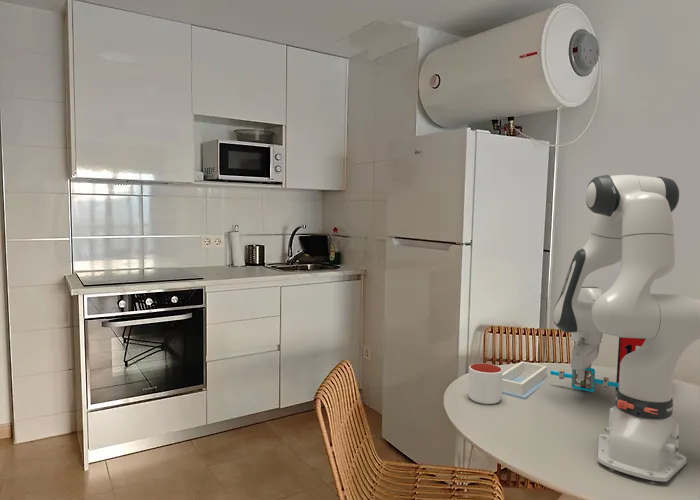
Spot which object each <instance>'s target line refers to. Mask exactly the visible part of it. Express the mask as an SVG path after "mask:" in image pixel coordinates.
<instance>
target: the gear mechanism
mask: <svg viewBox="0 0 700 500" xmlns="http://www.w3.org/2000/svg"><path fill="white" fill-rule="evenodd" d="M586 372H589V373H590V375H589V376H586ZM549 373H550V375H551V376H556V377H558V379H559V380H564V379H565V378H566V379H567V378H568V379H571V388H572V389H575V390H580V391H583V392H589V393H594V391H595V388H596V387H595V384H598V385H602V388H604V389H608V388H609V387H614V388H616V387H618V384H619V383H616V381H615V382H614V381H610V380H609V379H610V378H609V377H606V376H604V377H603V379H598V378H596V370H595V368H592V367H591V368H586V369H585V374H584V375H585V380H584V381H580V382H578V373H577V370H573V369H572V368H571V373H567V372H565V369H563V368H560V369H559V370H558V371H555V370H552V369H550V372H549ZM587 381H589V383H588V384H587Z"/></svg>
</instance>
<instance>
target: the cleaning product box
mask: <svg viewBox="0 0 700 500" xmlns="http://www.w3.org/2000/svg"><path fill="white" fill-rule="evenodd" d="M645 340H646V339H642V338H622V337H618V349H617V365H616V367H617V368H616V380H615V383H619V374H620V363H621V361H622V359H623V358H624V356H625V355H627V354H629V353H631V352H633V351H635V350H637V349H639V348H640V347H641V346H642V345H643V343H644V342H645ZM618 388H619V384H618V387H615V391H616V392H617V389H618Z"/></svg>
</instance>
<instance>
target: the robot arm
mask: <svg viewBox="0 0 700 500" xmlns="http://www.w3.org/2000/svg"><path fill="white" fill-rule="evenodd" d="M679 200H680V189H679V186H678V184H677V182H675V180H673V179H671V178H668V177H664V176H656V177H654V176H648V175H636V174H616V175H608V174H604V175H599V176H594V177H593V178H592V179H591V180H590V181H589V183H588V185H587V187H586V192H585V203H586V206H587V208H588V209H589V210H590V211H591V212H593V213H594V215H593V218H592V223H591V228H590V234H589V237H588V240H587V241H586V243H585V244H584V245H583V247H582V248H580V249H578V250H577V251H575V253H574V256H573V257H572V260H571V261H570V262H571V263H570V264H569V268H568V271H567V273H566V274H567V275H566V277H565V280H564V284H563V286H562V289H561V292H560V295H559V297H558V299H557V301H556V304H555V306H554V309H553V312H552V313H553V314H552V319H553V323H554V325H555V327H557V328H558V329H559V330H560V331H562V332H563V333H566V334H569V333H570V334H571V335H570V339H571V341H573V342H574V345H573V346H572V350H571V359H570V368H571V370H572V369H573V370H577V371H576V373H577V375H578V378H577V381H579V382H581V381H584V380H585V375H584V374H585V369H586V368H592V364H593V363H594V361H595V360H597V359H598V357H599V354H600V353H599V352H600V345H601V343H602V339H603V334H605V335H609V336H614V337H618V338H619V337H622V338H642V339H646V340H645V342H644V343H643V345H642V346H641V347H640V348H639V349H637V350H635V351H633V352H631V353H629V354H627V355H625V356H624V358H623V359H622V361H621V363H620V374H619V388H618V389H617V391H616V392H615V397H614V398H615V402H614V404H615V405H614V406H612V407H611V408H609V416H608V417H609V418H608V426H605V427H604V432H605V433H600V434H598V439H597V462H598V463H600V464H601V465H603V466H605V467H608V468H610V469H613V470H615V471H616V472H617V471H618V472H621V473H624V474H627V475H630V476H633V477H636V478H641V479H644V480H650V481H653V482H655V481H656V482H662V483H663V482H668V481H669V480H670V479H671V478H673V476H674V475H675V474H676V473H678V472H679V470H680V469H682V468H683V467H684V466H685V465H686V464H687V462H688V461H687V459H688V458H687V456H686V455H684V454H682V453H680V452H679V437H680V435H679V433H680V430H679V429H680V425H679V423H677V422H676V420H675V419H674V418H673V416H672V415H673V410H674V400H673V398H672V390H673V382H674V375H675V369H676V366H677V364H678V361H679V360H680V357H681V356H683V354H684V352H685V351H686V350H687V349H688V348H689V347H690V346H691V345H692V344H693V343H694V342H696V341H698V340H699V339H700V298H696V297H695V298H694V297H692V296H687V295H682V294H670V293H669V294H668V293H667V294H665V293H651V287H652V285H653V283H654V281H656V280H658V279H661V278H663V277H665V276H667V275H668V274H670V273H671V271H672V270H673V269H674V267H675V265H676V257H675V255H676V254H675V253H676V252H675V230H674V229H675V227H674V222H673V215H672V212H673V211H674V210H675V209H676V208H677V207H678V204H679ZM617 263H620V268H619V272H618V274H617V278H616V279H615V280H614V282H613V284H612V285H611V286H610V287H609V288H608V289H607V290H606V291H605V292H603V290H602V288H601V287H598V286H583V284H584V281H585V279H586V278H587V277H588V275H590V274H591V273H593V272H596V271H597V270H599V269H602V268H606V267H609V266H613V265H615V264H617ZM586 376H587V377H589V376H591V374H590V373H589V372H586Z"/></svg>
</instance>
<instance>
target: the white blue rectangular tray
mask: <svg viewBox="0 0 700 500" xmlns="http://www.w3.org/2000/svg"><path fill="white" fill-rule="evenodd" d="M523 372H525V373H530V374H531V375H530V376H528V377H524V376H519V375H520V374H522V373H523ZM547 375H548V366H547V365H542V364H537V363H532V362H528V361H520V362H518V363H517V364H515V365H513V366H511V367H510V368H508V369H507V370H506V371H504V372H503V374H502V395H505V396H509V397H513V398H517V399H521V400H527V399H528V398H529V397H530V396H532V394H534V393H535V392H536V391H537V390H538V389H539V388H541V387H542V385H543V384H545V383H546V382H547V381H546V380H544V379H545V378H546V377H547Z"/></svg>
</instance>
